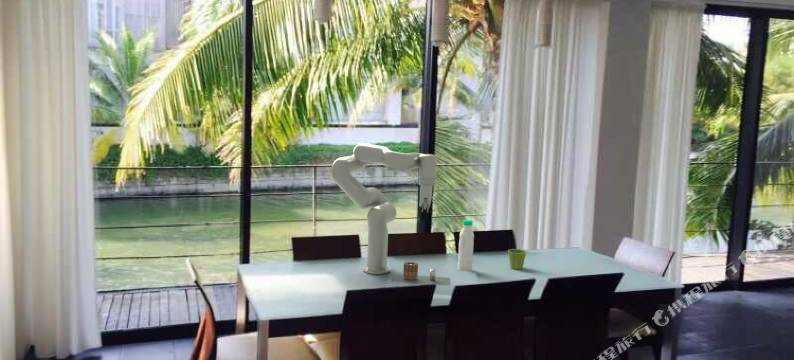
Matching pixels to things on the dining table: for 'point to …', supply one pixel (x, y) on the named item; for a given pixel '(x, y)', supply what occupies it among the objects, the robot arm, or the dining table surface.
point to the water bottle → (466, 247)
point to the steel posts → (432, 275)
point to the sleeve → (410, 270)
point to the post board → (422, 280)
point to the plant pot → (517, 258)
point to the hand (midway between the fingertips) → (425, 218)
